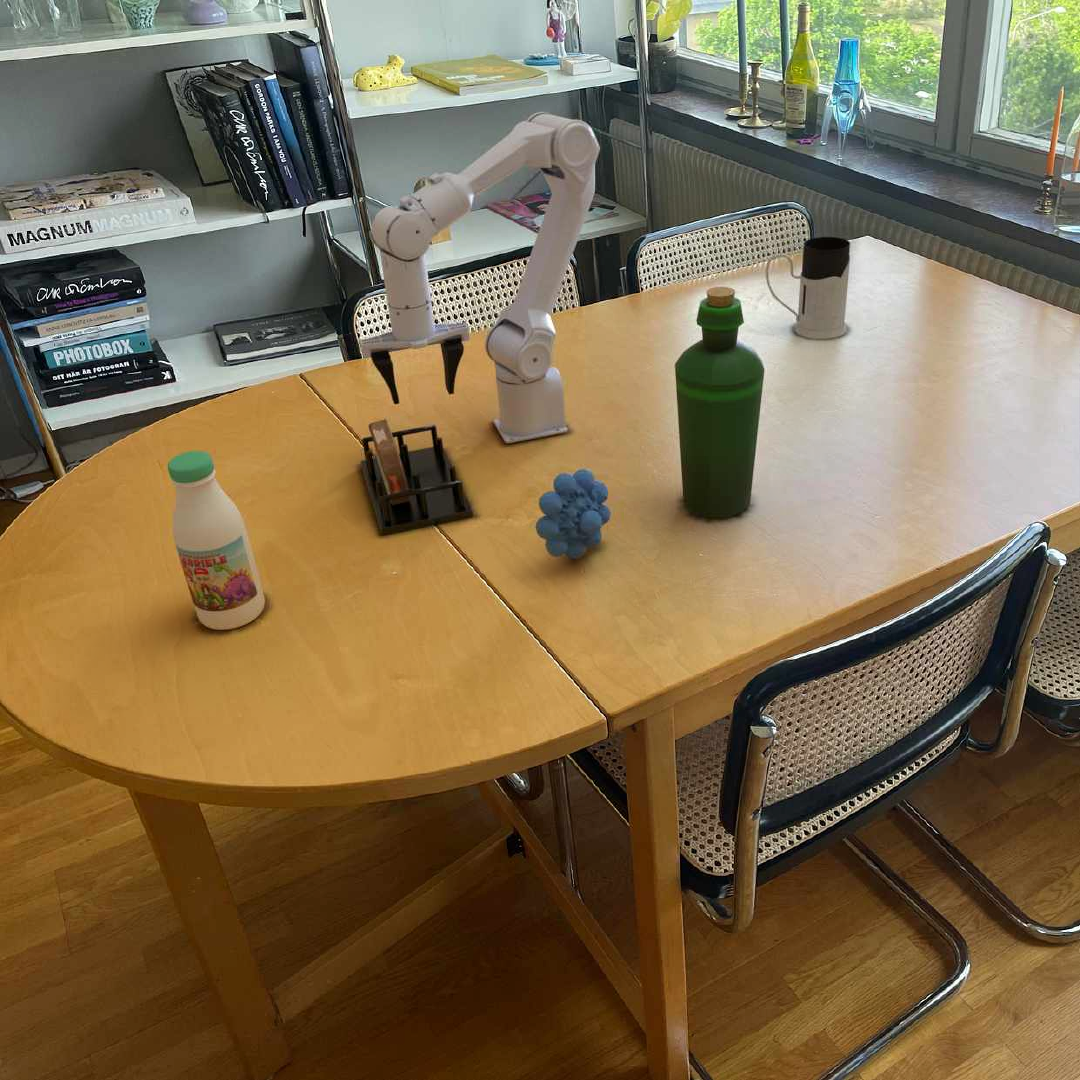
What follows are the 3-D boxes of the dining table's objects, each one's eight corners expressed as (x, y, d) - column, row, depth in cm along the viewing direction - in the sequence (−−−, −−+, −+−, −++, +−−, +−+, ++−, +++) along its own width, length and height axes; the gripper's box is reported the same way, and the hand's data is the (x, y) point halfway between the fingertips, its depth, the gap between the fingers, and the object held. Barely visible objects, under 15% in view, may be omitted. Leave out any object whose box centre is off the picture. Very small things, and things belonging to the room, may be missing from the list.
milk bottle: (205, 596, 123) (160, 446, 112) (270, 589, 123) (231, 439, 113) (192, 635, 116) (143, 480, 106) (261, 627, 117) (218, 472, 106)
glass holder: (852, 337, 175) (860, 249, 167) (767, 342, 176) (771, 255, 168) (840, 318, 183) (847, 234, 175) (759, 324, 183) (762, 239, 175)
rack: (443, 451, 151) (439, 420, 148) (473, 516, 134) (469, 483, 131) (361, 466, 148) (355, 435, 146) (381, 535, 132) (375, 502, 129)
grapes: (568, 592, 118) (562, 501, 112) (527, 571, 123) (519, 482, 116) (635, 549, 125) (633, 461, 118) (594, 530, 129) (590, 444, 123)
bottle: (764, 487, 135) (775, 277, 120) (751, 529, 127) (760, 310, 112) (684, 479, 138) (684, 274, 123) (665, 520, 130) (663, 305, 115)
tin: (414, 512, 134) (404, 455, 130) (390, 517, 133) (380, 459, 129) (396, 462, 146) (387, 408, 142) (374, 466, 146) (364, 412, 141)
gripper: (358, 320, 131) (375, 417, 139) (469, 302, 134) (480, 398, 141) (351, 303, 137) (368, 397, 144) (458, 286, 140) (469, 379, 147)
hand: (423, 396), depth 143 cm, fingers open, 7 cm apart
